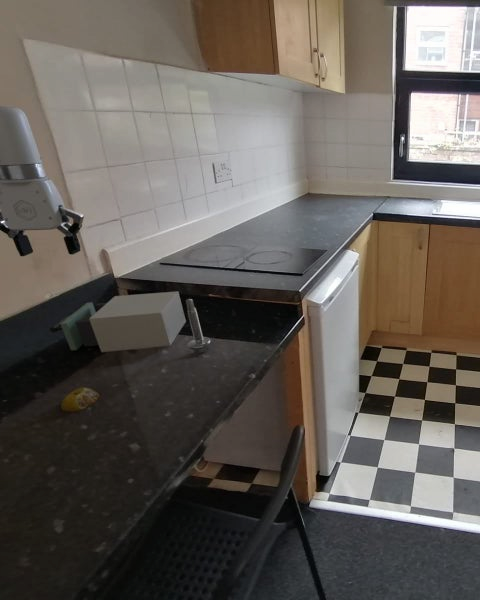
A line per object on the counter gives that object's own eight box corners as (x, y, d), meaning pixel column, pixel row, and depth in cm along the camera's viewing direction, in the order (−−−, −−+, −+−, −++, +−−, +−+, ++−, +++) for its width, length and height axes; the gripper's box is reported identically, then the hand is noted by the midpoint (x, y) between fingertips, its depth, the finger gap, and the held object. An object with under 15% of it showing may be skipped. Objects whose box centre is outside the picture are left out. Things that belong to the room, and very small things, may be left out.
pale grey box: (101, 352, 91) (88, 318, 88) (125, 326, 103) (114, 296, 99) (170, 345, 94) (161, 312, 90) (186, 321, 105) (178, 291, 102)
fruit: (106, 420, 71) (99, 403, 69) (52, 426, 69) (44, 409, 68) (125, 391, 78) (120, 375, 76) (77, 397, 77) (70, 381, 75)
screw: (214, 352, 91) (190, 358, 89) (211, 343, 95) (188, 348, 93) (202, 300, 86) (176, 305, 83) (199, 292, 89) (175, 296, 87)
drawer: (49, 352, 90) (37, 325, 87) (76, 328, 100) (67, 304, 97) (136, 344, 93) (127, 318, 90) (154, 322, 103) (147, 297, 100)
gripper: (-42, 176, 78) (-6, 260, 85) (56, 174, 80) (84, 257, 87) (-11, 171, 84) (20, 250, 91) (78, 170, 87) (102, 247, 94)
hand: (51, 253), depth 89 cm, fingers open, 9 cm apart
